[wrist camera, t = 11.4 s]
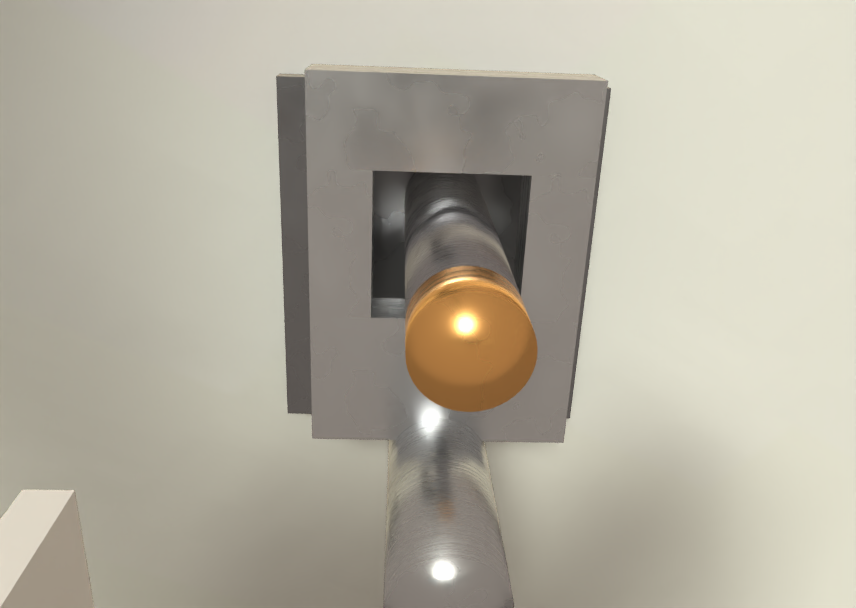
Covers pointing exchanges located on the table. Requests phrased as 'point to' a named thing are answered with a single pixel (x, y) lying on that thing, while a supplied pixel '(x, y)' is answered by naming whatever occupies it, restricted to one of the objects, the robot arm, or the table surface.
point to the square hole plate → (385, 286)
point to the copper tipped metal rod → (461, 299)
